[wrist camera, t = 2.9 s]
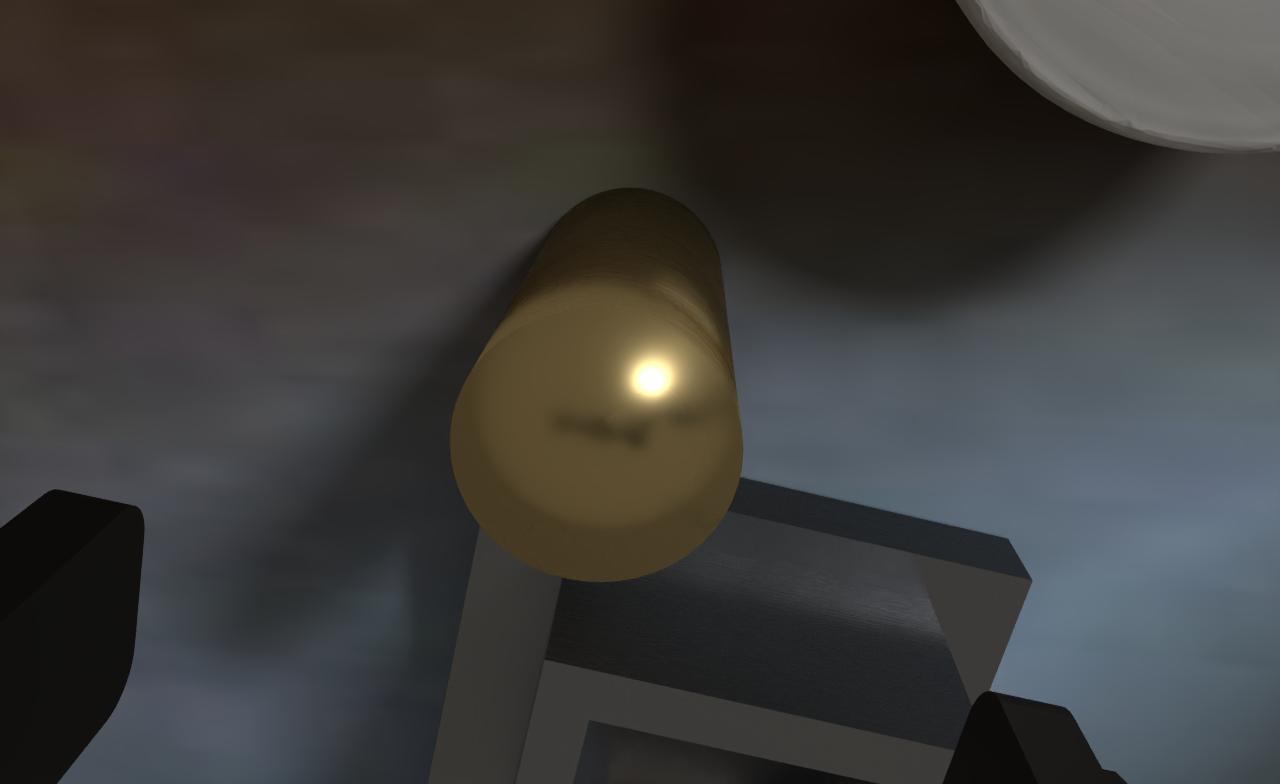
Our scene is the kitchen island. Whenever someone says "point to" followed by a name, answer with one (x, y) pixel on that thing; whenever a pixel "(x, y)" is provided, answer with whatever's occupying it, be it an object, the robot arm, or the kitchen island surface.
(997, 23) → the ramekin
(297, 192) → the kitchen island surface
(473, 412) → the brass peg
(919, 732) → the dock
